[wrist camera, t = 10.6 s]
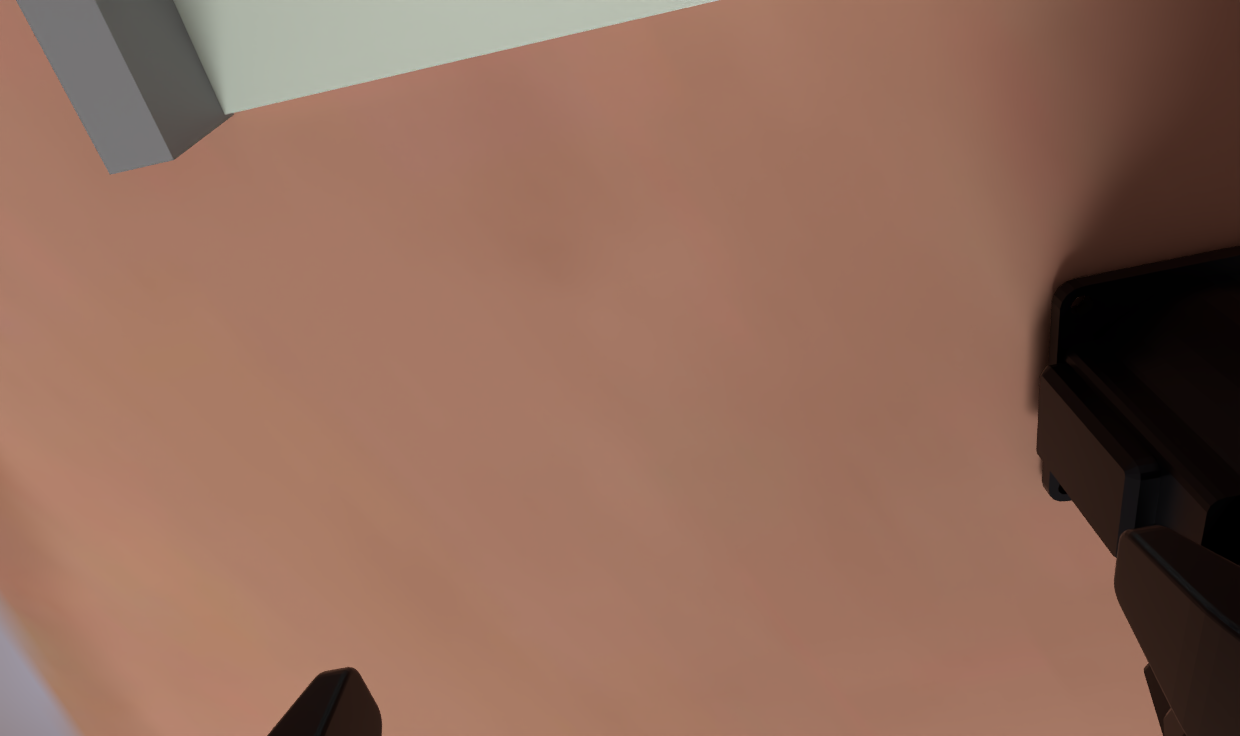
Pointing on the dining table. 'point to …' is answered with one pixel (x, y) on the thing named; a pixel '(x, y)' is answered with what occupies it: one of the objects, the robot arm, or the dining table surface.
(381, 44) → the mat
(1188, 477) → the robot arm
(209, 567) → the dining table surface
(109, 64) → the corner walls
